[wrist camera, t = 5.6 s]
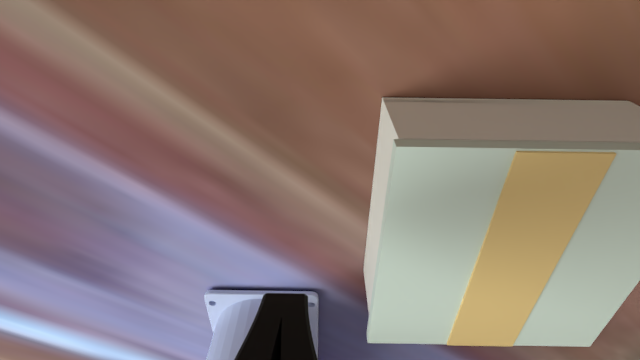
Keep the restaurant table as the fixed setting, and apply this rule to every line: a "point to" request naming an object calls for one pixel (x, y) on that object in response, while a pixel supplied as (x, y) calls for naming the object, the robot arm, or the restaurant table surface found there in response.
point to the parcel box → (488, 135)
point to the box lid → (505, 242)
